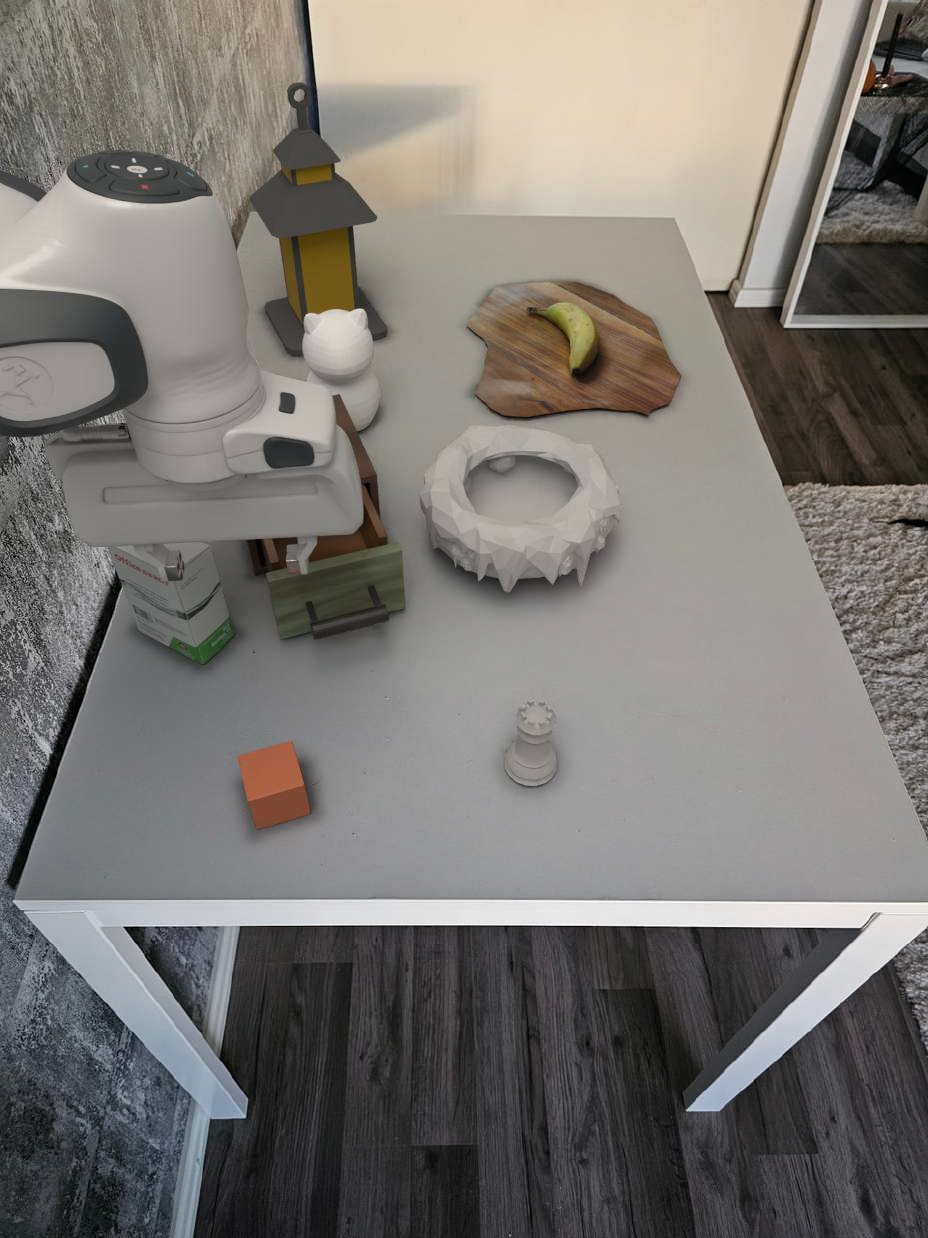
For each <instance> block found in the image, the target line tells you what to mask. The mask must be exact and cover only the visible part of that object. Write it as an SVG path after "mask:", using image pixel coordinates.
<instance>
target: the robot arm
mask: <svg viewBox="0 0 928 1238" xmlns="http://www.w3.org/2000/svg"><path fill="white" fill-rule="evenodd" d="M236 247H237V246H236V243H235V240H234V237H233V234H232V230H231V227H230V224H229V221H228V218H227V216H226V213H225V209H224V208H223V205H222V203H221V201H220V199H219V197H218V195H217V194H216V192H215V191H214V190H213V188H212V186H210V184H209V183H208V182H207V181H206V180H205V179H204V178H203V177H202V176H200V175H199V174H198V173H197V172H196V171H194V169H192V168H190V167H189V166H188V165H186V164H184V163H183V162H181V161H177V160H174V159H171V158H169V157H166V156H163V155H161V154H157V153H153V152H148V151H140V150H131V149H107V150H100V151H98V152H95V153H90V154H87V155H82V156H80V157H78V158H75V159H74V160H73V161H71V162H70V163H69V164H68V165H67V166H66V168H65V169H64V171H63V173H62V175H61V177H60V179H58V181H57V182H56V184H55V185H54V186H53V187H52V188H51V189H50V190H49V191H48V192H47V191H46V190H45V189H42V188H41V187H39V186H38V185H35V184H34V183H33V182H31V181H29V180H27V179H24V178H22V177H19V176H17V175H15V174H12V173H10V172H7V171H4V170H2V169H0V436H2V437H10V438H35V437H41V436H45V435H50V434H51V435H50V436H49V437H48V438H47V439H46V441H45V444H44V452H45V453H44V454H45V456H46V459H47V462H48V464H49V467H50V468H51V471H52V473H53V474H54V475H55V476H56V478H58V479H59V480H60V481H61V482H62V489H63V496H64V502H65V507H66V510H67V511H66V512H67V515H68V518H69V522H70V525H71V528H72V531H73V533H74V535H75V537H76V538H77V539H78V540H79V541H81V542H83V543H84V544H86V545H88V546H89V547H91V548H105V547H106V548H107V547H110V546H129V545H133V546H134V549H135V552H136V553H137V554H138V555H139V556H141V557H142V558H143V559H145V560H146V561H147V562H149V563H150V564H151V565H153V566H154V567H157V569H158V572H159V575H160V577H161V580H162V582H167V581H182V580H183V575H182V574H183V573H184V562H183V560H181V558H182V556H181V552H180V550H170V551H169V550H168V549H167V548H166V547H165V546H164V545H163V544H169V543H189V542H203V543H207V542H208V543H209V542H226V541H229V542H230V541H245V540H250V539H270V538H290V537H297V539H298V544H292V545H287V555H286V564H287V568H288V574H289V575H301V574H308V565H309V563H308V557H309V556H310V554H311V553H312V551H313V550H314V548H315V547H316V545H317V538H318V536H330V535H350V534H353V533H354V532H355V531H357V529H358V528H359V527H360V526H361V525H362V523H363V514H364V510H363V494H362V486H361V480H360V475H359V470H358V466H357V462H356V458H355V455H354V451H353V448H352V445H351V442H350V440H349V438H348V436H347V435H346V433H345V432H344V430H343V429H342V428H341V427H339V426H338V425H337V424H336V412H335V405H334V400H333V396H332V393H331V391H330V390H329V389H328V388H326V387H324V386H321V385H318V384H313V383H309V382H306V381H304V380H299V379H296V378H291V377H287V376H284V375H280V374H276V373H273V372H270V371H266V370H263V369H260V365H259V363H258V360H257V358H256V356H255V354H254V353H253V351H252V348H251V347H250V344H249V339H248V329H249V322H250V309H249V302H248V298H247V291H246V287H245V283H244V278H243V277H244V276H243V273H242V267H241V264H240V259H239V256H238V251H237V248H236ZM120 411H121V412H122V414H123V417H124V421H125V422H115V423H102V424H98V425H97V424H95V425H83V424H86V423H89V422H92V421H95V420H99V419H101V418H104V417H106V416H109V415H112V414H114V413H116V412H120Z"/></svg>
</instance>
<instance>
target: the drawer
mask: <svg viewBox="0 0 928 1238" xmlns="http://www.w3.org/2000/svg"><path fill="white" fill-rule="evenodd" d="M361 486H362V494H363V510H364V514H363V523H362V525H361V526H360V527H359V528H358V529H357V531H355V532H354V533H353V534H350V535H330V536H318V538H317V545H316V547H315V548H314V550H313V551H312V553H311V554H310V556H309V557H308V563H309V565H308V574H301V575H289V574H288V568H287V564H286V555H287V545H292V544H298V539H297V537H290V538H270V539H259V543H260V546H261V550H262V553H263V556H264V560H265V563H266V566H267V570H268V573H265V578H266V582H267V586H268V591H269V596H270V600H271V604H272V610H273V616H274V619H275V623H276V628H277V632H278V633H277V634H278V636H279V639H280V640H283V639H287V638H291V637H296V636H299V635H304V634H307V633H311V634H312V637H313V640H315V641H316V640H320V639H323V638H324V639H325V638H328V637H332V636H335V635H339V634H344V633H348V632H352V631H356V630H360V629H363V628H367V627H370V626H371V627H372V626H375V625H379V624H382V623H387V622H389V621H390V615H389V613H390V612H395V611H399V610H402V609H405V608H406V595H405V579H404V561H403V549H402V547H401V545H400V542H399V541H397V542H392V543H388V535H387V532H386V530H385V528H384V526H383V524H382V521H380V520H381V518H380V519H379V517H378V514H377V512H376V510H375V508H374V505H373V503H372V501H371V499H370V496H369V494H368V492H367V490H366V487H365V485H364V484H361Z"/></svg>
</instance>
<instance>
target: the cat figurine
mask: <svg viewBox="0 0 928 1238" xmlns="http://www.w3.org/2000/svg"><path fill="white" fill-rule="evenodd" d="M367 326H368V318H367V314H366V312H365V311H364V309H355V310H353V311H351V312H349V311H345V310H341V309H332V310H328V311H325V312H323V313H321V314H319V315H318V314H315V313H309V314H306V316H305V317H304V329H305V334H304V337H303V342H302V350H303V358H304V361H305V364H306V365H307V367H308V368H309V373H308V375H307V378H306V381H305V382H309V383H313V384H318V385H321V386H324V387H326V388H328V389H329V390H330V391H331V393H332V395H337V394H340V396H341V398H342V400H343V402H344V404H345V407H346V409H347V411H348V413H349V415H350V417H351V420H352V422H353V424H354V426H355V428H356V430H357V432H361V431H362V430H364V429H366V428H367V427H369V426H370V424H371V423H372V422H373V420H374V418H375V417H376V414H377V411H378V409H379V406H380V401H381V397H382V395H381V392H382V391H381V387H380V383H379V379H378V378H377V376H376V373H375V371H374V370H373V369H372V367H371V365H372V362H373V360H374V355H375V354H374V353H375V345H374V341H373V339H372V335H371V333H370V330H369V329H368V327H367Z"/></svg>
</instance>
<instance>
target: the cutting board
mask: <svg viewBox="0 0 928 1238" xmlns="http://www.w3.org/2000/svg"><path fill="white" fill-rule="evenodd" d="M466 327H468V328H469V329H470V330H471V331H472V332H473V333H475V334H476V335H477V336H478V337H480V338H481V339H483V341H484V343H485V344H486V346H487V350H486V354H485V359H484V367H483V371H482V373H481V375H480V378H479V380H478V382H477V385H476V388H475V391H474V394H475V395H476V396H477V397H478V398H479V399H480V400H481V401H483V402H484V403H485V404H486V405H487V407H488V408H489V409H490V410H493V411H495V412H496V413H499V414H500V415H503V416H507V417H508V416H510V417H520V418H521V417H522V418H528V417H534V416H540V415H547V414H554V413H560V412H566V411H567V412H568V411H575V410H576V411H577V410H586V409H598V408H599V409H606V410H607V409H608V410H613V411H614V410H615V411H621V412H622V411H623V412H628V411H634V412H637V413H640V414H644V415H645V416H649V415H650V413H651V411H653V410H655V409H658V408H661V407H663V406H666V405H669V404H670V403H671V401H672V398H673V396H674V393H675V391H676V389H677V386H678V384H679V381H680V379H681V377H682V373H680V372H679V370H678V368H676V366H675V364H674V363H673V362H672V360H671V358H670V356H669V354H668V351H667V349H666V347H665V345H664V342H663V339H662V337H661V335H660V332H659V329H658V327H657V325H656V323H655V322H654V321H653V319H652V317H650V316H649V315H647V314H646V313H644V312H642V311H640V310H638V309H637V308H635V307H633V306H631V305H629V304H627V303H626V302H624V301H623V300H622V299H621V298H619V297H618V296H616V295H615V294H614V293H609V292H607V291H605V290H602V289H600V288H597V287H594V286H592V285H587V284H585V283H581V282H578V281H543V282H524V283H513V284H505V285H504V284H503V285H497V286H495V288H494V289H492V291H491V293H490V294H489V295H488V296H487V298H486V299H485V301H484V302H483V303H482V305H481V306H480V307H479V308H478V310H477V311H476V312H475V313H474V314H473V315H472V316H471V318H470V319H469V321H468V323H467V324H466Z"/></svg>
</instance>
